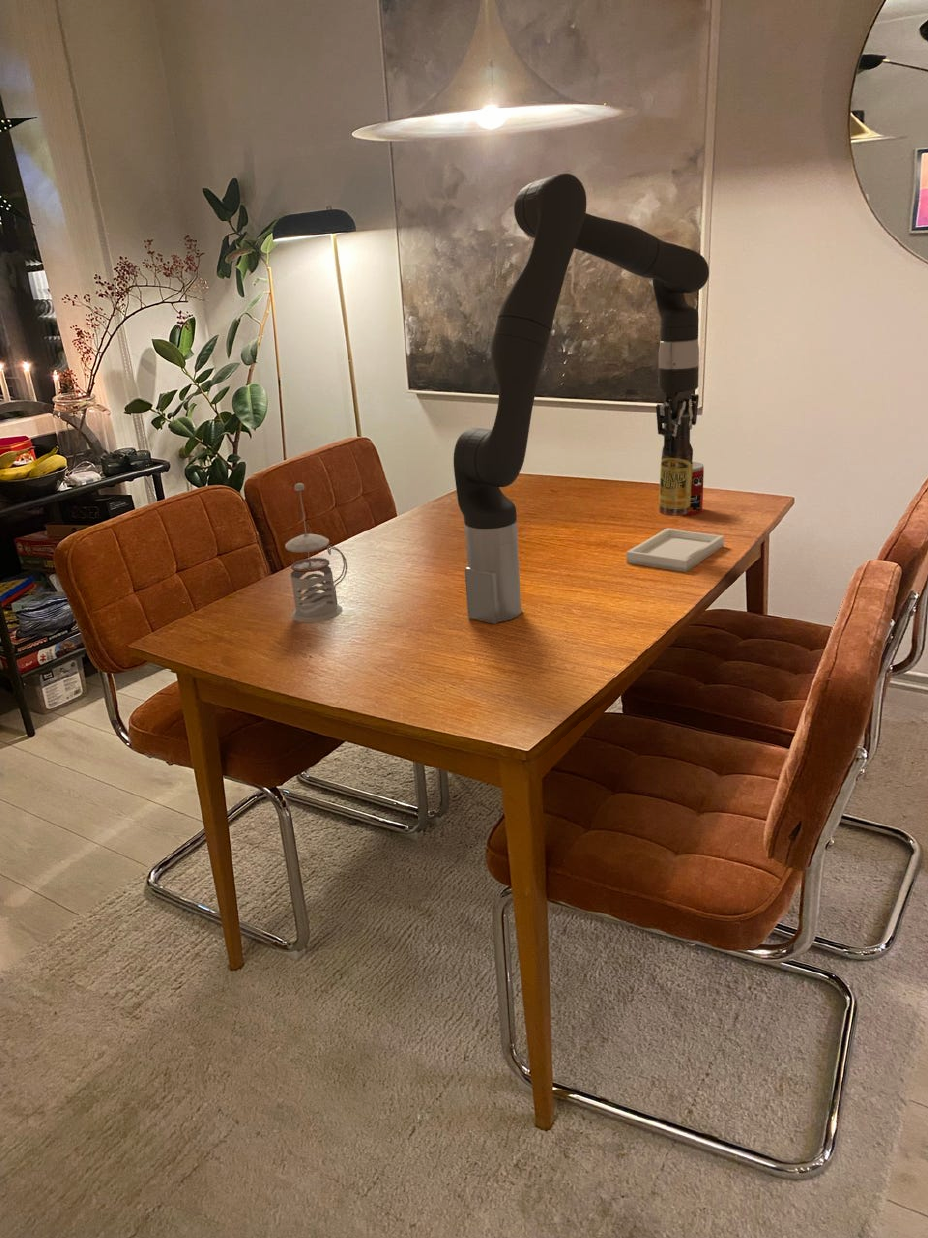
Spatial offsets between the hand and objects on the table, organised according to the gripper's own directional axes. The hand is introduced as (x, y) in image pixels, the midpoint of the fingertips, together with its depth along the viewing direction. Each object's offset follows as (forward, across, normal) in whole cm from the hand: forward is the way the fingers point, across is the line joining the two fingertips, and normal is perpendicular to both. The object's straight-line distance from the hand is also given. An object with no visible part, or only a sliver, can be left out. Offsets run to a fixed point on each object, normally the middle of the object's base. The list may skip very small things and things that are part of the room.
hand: (677, 451), depth 184 cm
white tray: (+21, 0, 0) cm, 21 cm away
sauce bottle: (+13, 0, 0) cm, 13 cm away
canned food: (+22, +30, +12) cm, 39 cm away
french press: (+22, -59, +44) cm, 77 cm away
